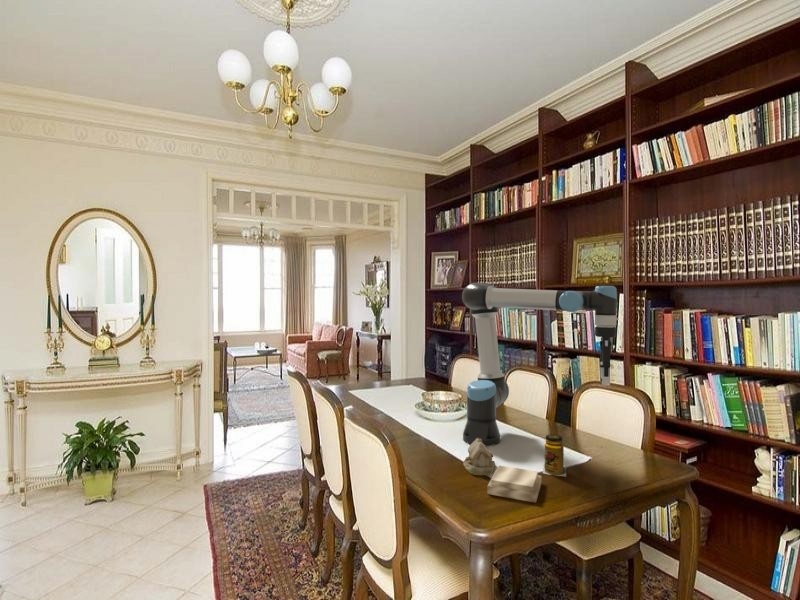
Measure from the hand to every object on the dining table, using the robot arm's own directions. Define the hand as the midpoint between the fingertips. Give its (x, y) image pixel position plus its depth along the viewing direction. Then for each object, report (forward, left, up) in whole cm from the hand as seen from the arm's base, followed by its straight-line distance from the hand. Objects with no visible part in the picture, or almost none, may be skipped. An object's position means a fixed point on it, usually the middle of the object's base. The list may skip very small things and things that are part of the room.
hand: (604, 381), depth 167 cm
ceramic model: (-40, -36, -26) cm, 60 cm away
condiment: (-16, -29, -26) cm, 42 cm away
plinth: (-26, -48, -26) cm, 60 cm away
